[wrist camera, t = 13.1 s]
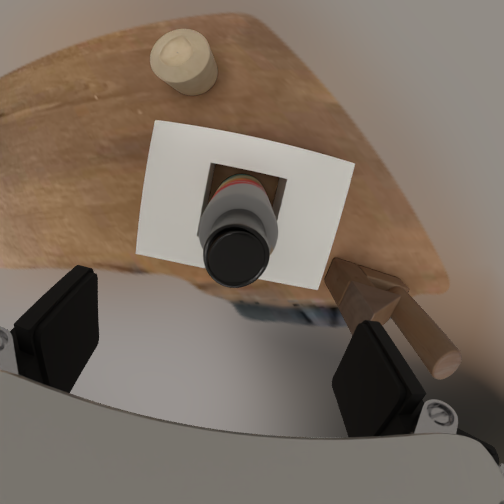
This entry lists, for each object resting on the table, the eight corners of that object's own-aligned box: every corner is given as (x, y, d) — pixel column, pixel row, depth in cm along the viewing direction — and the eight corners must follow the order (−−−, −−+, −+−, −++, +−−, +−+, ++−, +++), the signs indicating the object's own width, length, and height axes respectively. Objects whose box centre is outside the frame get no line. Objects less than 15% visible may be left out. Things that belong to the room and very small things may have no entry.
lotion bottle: (230, 164, 35) (211, 189, 16) (274, 187, 36) (307, 238, 17) (208, 207, 36) (169, 279, 17) (251, 229, 37) (257, 319, 18)
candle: (184, 46, 30) (164, 16, 20) (226, 63, 30) (219, 35, 21) (162, 86, 31) (134, 68, 22) (204, 103, 32) (188, 88, 23)
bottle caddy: (151, 236, 37) (135, 253, 32) (169, 123, 33) (155, 119, 27) (307, 268, 39) (317, 290, 33) (338, 160, 34) (355, 163, 29)
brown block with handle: (333, 256, 39) (390, 337, 22) (399, 277, 40) (470, 352, 23) (322, 281, 40) (368, 372, 23) (388, 300, 41) (450, 381, 24)
